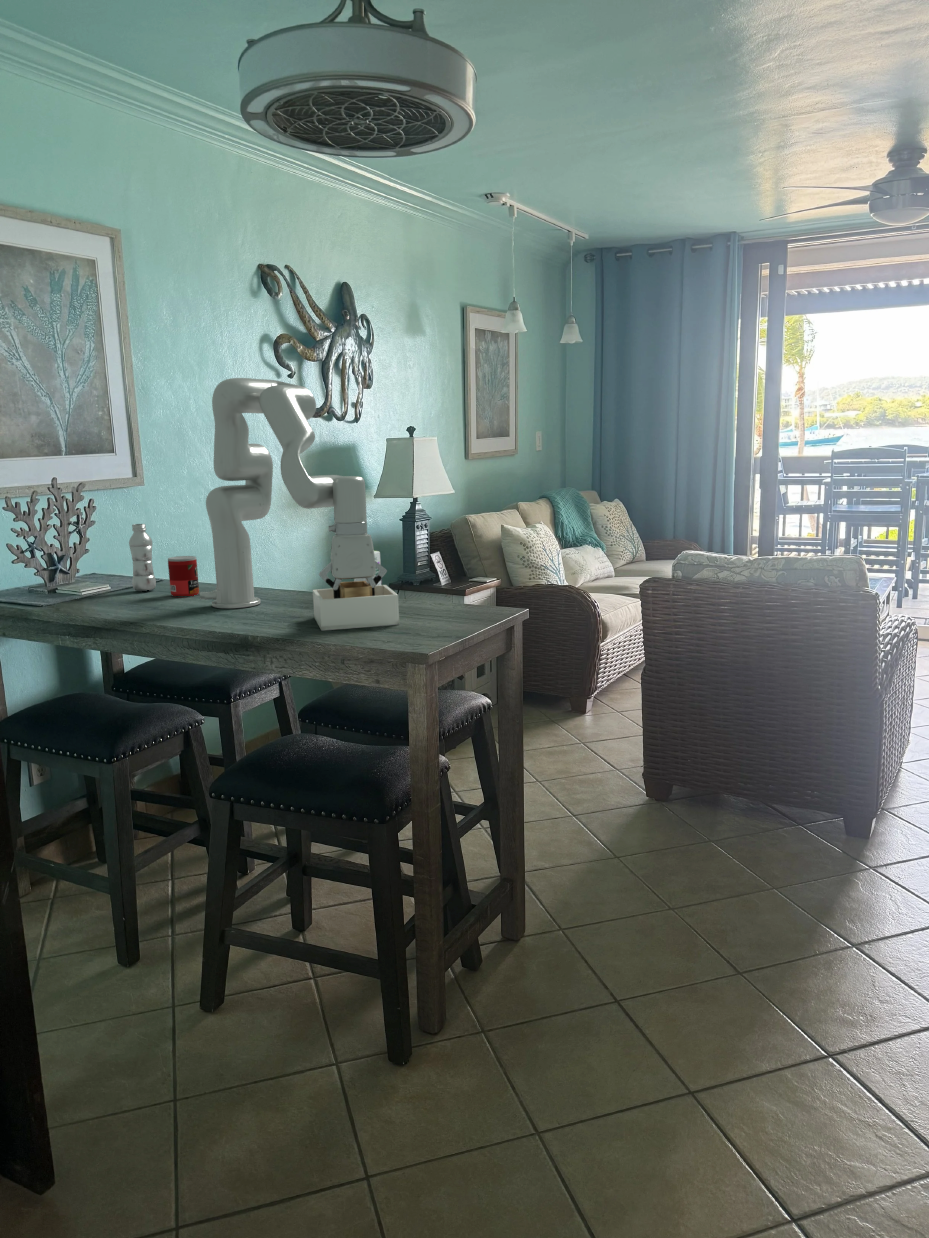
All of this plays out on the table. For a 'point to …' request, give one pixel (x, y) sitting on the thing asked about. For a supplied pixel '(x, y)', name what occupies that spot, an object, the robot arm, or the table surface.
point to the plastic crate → (356, 609)
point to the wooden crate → (355, 589)
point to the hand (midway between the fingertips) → (354, 604)
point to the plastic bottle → (142, 559)
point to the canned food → (183, 576)
